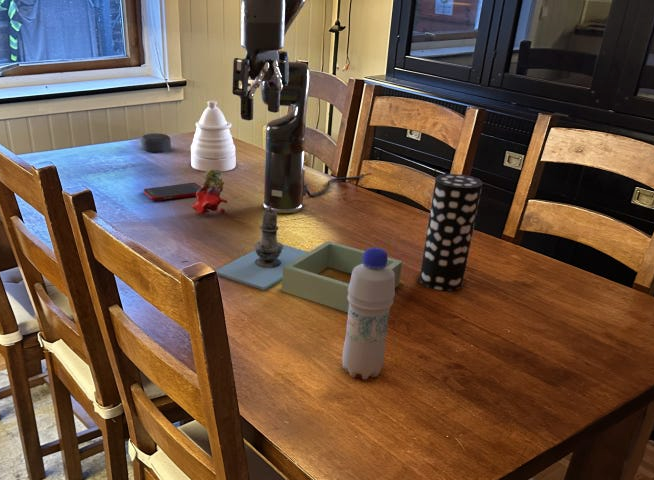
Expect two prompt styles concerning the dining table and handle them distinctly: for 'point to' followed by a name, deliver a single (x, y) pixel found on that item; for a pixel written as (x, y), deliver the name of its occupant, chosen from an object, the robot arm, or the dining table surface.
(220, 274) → the drying mat
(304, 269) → the green rectangular frame
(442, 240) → the spotted tube
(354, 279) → the bottle
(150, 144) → the smart speaker
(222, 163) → the honey pot
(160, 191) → the cell phone
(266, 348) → the dining table surface
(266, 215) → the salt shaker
